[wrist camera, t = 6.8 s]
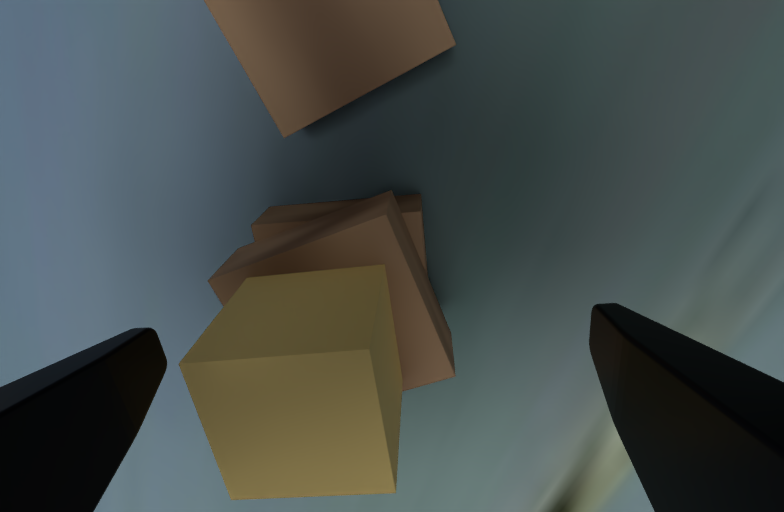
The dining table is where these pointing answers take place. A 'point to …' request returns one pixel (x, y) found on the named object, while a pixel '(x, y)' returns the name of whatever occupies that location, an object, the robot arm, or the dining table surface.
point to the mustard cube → (302, 385)
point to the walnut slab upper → (356, 249)
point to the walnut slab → (327, 49)
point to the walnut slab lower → (298, 214)
